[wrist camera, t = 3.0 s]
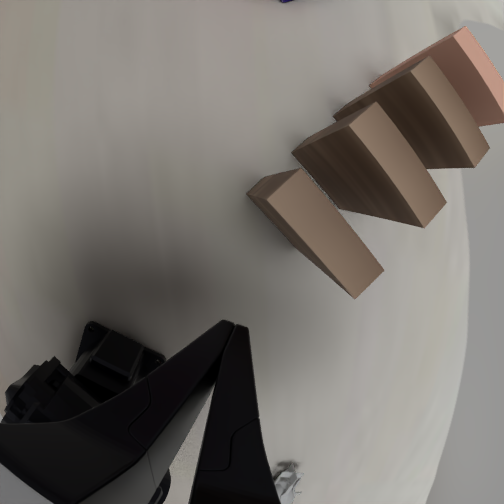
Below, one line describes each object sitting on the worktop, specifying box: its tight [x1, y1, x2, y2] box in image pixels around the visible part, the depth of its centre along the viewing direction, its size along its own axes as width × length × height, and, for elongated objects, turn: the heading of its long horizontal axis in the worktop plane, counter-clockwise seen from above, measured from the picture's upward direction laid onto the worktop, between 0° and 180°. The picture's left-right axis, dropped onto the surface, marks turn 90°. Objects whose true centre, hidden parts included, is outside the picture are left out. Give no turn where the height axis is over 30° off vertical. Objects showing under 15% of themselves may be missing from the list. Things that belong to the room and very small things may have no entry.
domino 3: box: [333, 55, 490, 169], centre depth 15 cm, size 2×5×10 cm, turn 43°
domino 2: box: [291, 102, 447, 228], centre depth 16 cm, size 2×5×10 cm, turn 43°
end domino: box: [369, 26, 504, 127], centre depth 15 cm, size 2×5×10 cm, turn 43°
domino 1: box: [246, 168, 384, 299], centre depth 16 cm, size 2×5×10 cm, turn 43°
